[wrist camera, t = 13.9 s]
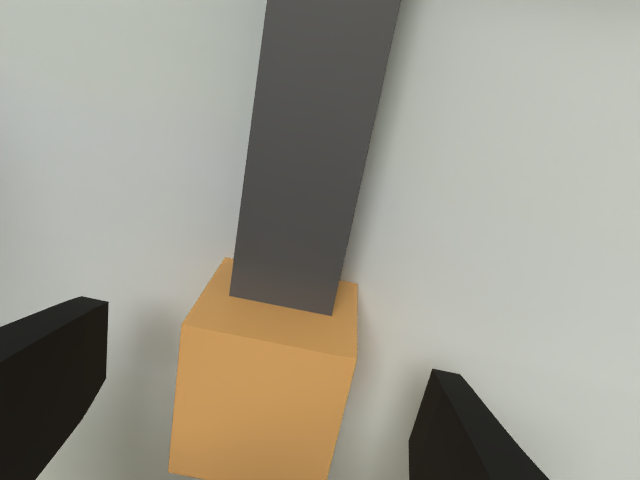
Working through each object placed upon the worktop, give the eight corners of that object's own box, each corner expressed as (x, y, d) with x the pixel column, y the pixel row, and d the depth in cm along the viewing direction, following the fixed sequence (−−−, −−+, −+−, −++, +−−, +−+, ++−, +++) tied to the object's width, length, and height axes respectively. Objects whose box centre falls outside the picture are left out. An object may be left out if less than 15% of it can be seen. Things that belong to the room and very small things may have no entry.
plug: (329, 402, 15) (321, 502, 11) (210, 378, 15) (168, 472, 11) (464, -173, 10) (518, -288, 6) (282, -209, 10) (242, -341, 6)
